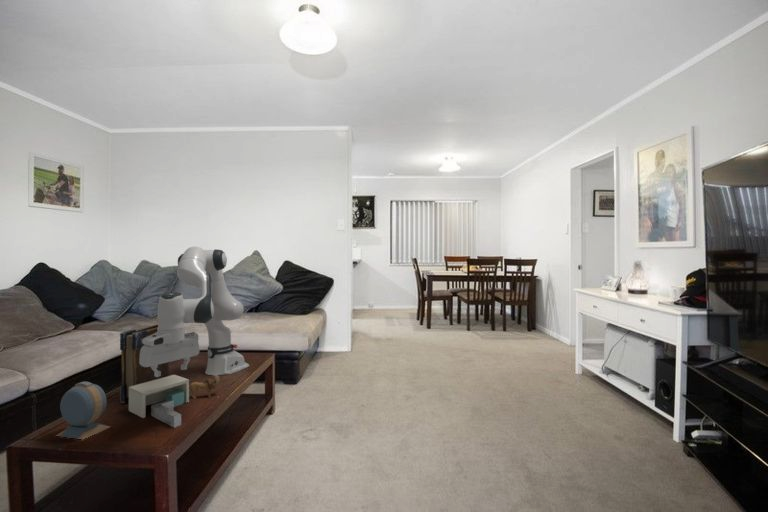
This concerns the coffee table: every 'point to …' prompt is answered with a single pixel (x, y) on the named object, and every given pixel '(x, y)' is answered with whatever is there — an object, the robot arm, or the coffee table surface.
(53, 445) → the coffee table surface
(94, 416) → the alarm clock
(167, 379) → the block
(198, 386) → the lion figurine
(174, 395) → the cube
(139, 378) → the decorative book
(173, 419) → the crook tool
